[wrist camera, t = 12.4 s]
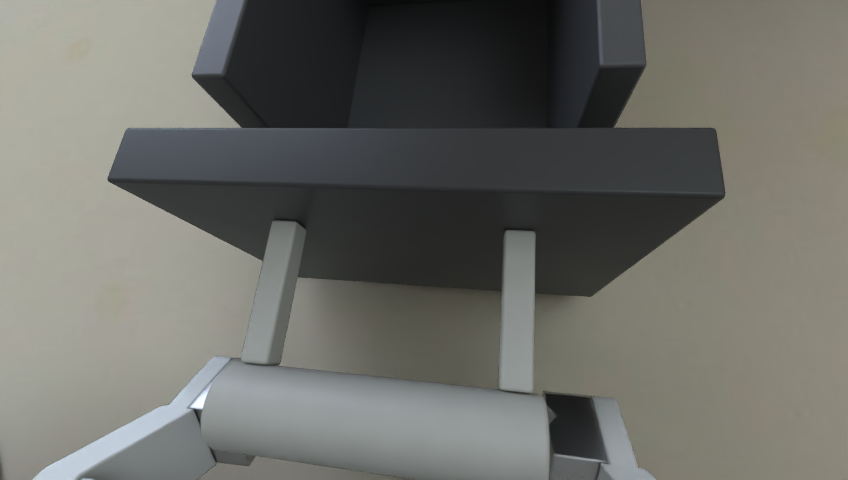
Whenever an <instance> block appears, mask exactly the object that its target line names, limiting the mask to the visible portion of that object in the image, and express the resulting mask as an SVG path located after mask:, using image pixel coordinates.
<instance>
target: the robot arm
mask: <svg viewBox="0 0 848 480" xmlns="http://www.w3.org/2000/svg"><path fill="white" fill-rule="evenodd" d="M237 362H242V361H241V358H232V357H225V356H216V357H214V358H211V359H210V360H209V361H208V362H207V363H206V365H205V366H204V367H203V368H202V369H201V370H200V371H199V372H198V373H197V374H196V376H195V377H194V378H193V379H192V380H191V381H190V382H189V383H188V384H187V386H186V387H185V388H184V389H183V390H182V391H181V392H180V393H179V394H178V395H177V397H176V398H175V399H174V400H173V401H172V402H171V403H170V404H169V405H168V406H166V405H162V406H160V407H158V408H156V409H154V410H152V411H151V412H149V413H147V414H145V415H143V416H141V417H139V418H137V419H136V420H134V421H132V422H130V423H128V424H126V425H124V426H122V427H121V428H119V429H117V430H115V431H113V432H111V433H109V434H107V435H106V436H104V437H102V438H100V439H98V440H96V441H94V442H92V443H91V444H89V445H87V446H85V447H83V448H81V449H79V450H77V451H76V452H74V453H72V454H70V455H68V456H66V457H64V458H62V459H61V460H59V461H57V462H55V463H53V464H51V465H49V466H47V467H46V468H44V469H43V470H42V471H40V472H39V473H38V474H37V475H36V476H35V477H34V478H33V479H32V480H198V479H199V478H200V477H201V476H203V475H204V474H205V473H206V472H208V471H209V470H210V469H211V468H213V467H214V466H215V465H216V462H218V463H227V464H235V465H243V466H250V464H251V462H252V461H253V459H254V457H255V456H254V455H247V454H241V453H234V452H227V451H221V450H215V449H212V448H211V447H209V446H208V445H207V444H206V443H205V441H204V439H203V437H202V433H201V414H202V409H203V405H204V401H205V399H206V396H207V393H208V391H209V389H210V387H211V385H212V384H213V382H214V380H215V379H216V378H217V376H218V375H219V374H220V373H221V372H222V371H223V370H224V369H225V368H226V367H228V366H229V365H231V364H234V363H237ZM542 396H543V397H544V400H545V403H546V406H547V412H548V421H549V437H550V466H549V480H657V479H656V478H655V477H654V476H653V475H652V474H651V473H650V472H649V471H648V470H646V469H640V468H639V467H638V464H637V461H636V458H635V455H634V452H633V448H632V445H631V442H630V439H629V436H628V433H627V430H626V427H625V424H624V421H623V418H622V415H621V411H620V408H619V405H618V402H617V401H616V400H615V399H614V398H609V397H599V396H588V395H580V394H570V393H559V392H549V391H543V394H542Z"/></svg>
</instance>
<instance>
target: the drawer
mask: <svg viewBox="0 0 848 480" xmlns="http://www.w3.org/2000/svg"><path fill="white" fill-rule="evenodd" d="M645 67H646V54H645V43H644V32H643V21H642V10H641V0H216V3H215V6H214V9H213V12H212V15H211V18H210V21H209V24H208V27H207V30H206V33H205V36H204V39H203V42H202V45H201V48H200V51H199V54H198V57H197V60H196V63H195V66H194V69H193V72H192V78H193V79H194V80H195V81H196V82H197V83H198V84H199V85H200V86H201V87H202V88H203V89H204V90H205V91H206V92H207V93H208V94H209V95H210V96H211V97H212V98H213V99H214V100H215V101H216V102H217V103H218V104H219V105H220V106H221V107H222V108H223V109H224V110H225V111H226V112H227V113H228V114H229V115H230V116H231V117H232V118H233V119H234V120H235V121H236V122H237V123H238V124H239V125H240V126H241V127H242V128H128V129H126V131H125V133H124V136H123V139H122V141H121V144H120V147H119V149H118V152H117V155H116V157H115V160H114V163H113V165H112V168H111V171H110V173H109V176H108V181H109V182H110V183H112V184H114V185H116V186H118V187H120V188H122V189H124V190H126V191H128V192H130V193H132V194H134V195H136V196H138V197H139V198H141V199H143V200H145V201H147V202H149V203H151V204H153V205H155V206H157V207H159V208H161V209H163V210H165V211H167V212H169V213H171V214H173V215H175V216H177V217H178V218H180V219H182V220H184V221H186V222H188V223H190V224H192V225H194V226H196V227H198V228H200V229H202V230H204V231H206V232H208V233H210V234H212V235H214V236H215V237H217V238H219V239H221V240H223V241H225V242H227V243H229V244H231V245H233V246H235V247H237V248H239V249H241V250H243V251H245V252H247V253H249V254H251V255H253V256H254V257H256V258H258V259H260V260H262V261H263V263H262V268H261V272H260V276H259V281H258V285H257V289H256V294H255V298H254V303H253V307H252V311H251V316H250V320H249V324H248V329H247V333H246V337H245V342H244V346H243V351H242V355H241V361H242V362H237V363H234V364H231V365H229V366H228V367H226V368H225V369H224V370H223V371H222V372H221V373H220V374H219V375H218V376H217V378H216V379H215V380H214V382H213V384H212V385H211V387H210V389H209V391H208V393H207V396H206V399H205V401H204V405H203V409H202V414H201V433H202V437H203V439H204V441H205V443H206V444H207V445H208V446H209V447H211V448H212V449H215V450H221V451H227V452H234V453H241V454H247V455H254V456H260V457H267V458H274V459H280V460H287V461H294V462H300V463H307V464H314V465H320V466H327V467H334V468H340V469H347V470H353V471H360V472H367V473H373V474H380V475H387V476H393V477H400V478H407V479H413V480H549V466H550V437H549V421H548V412H547V406H546V403H545V400H544V397H543V396H542V395H540V394H534V393H532V392H533V390H534V319H535V293H542V294H557V295H572V296H587V297H591V296H593V295H594V294H595V293H597V292H598V291H599V290H601V289H602V288H603V287H605V286H606V285H607V284H609V283H610V282H611V281H613V280H614V279H615V278H617V277H618V276H619V275H621V274H622V273H624V272H625V271H626V270H628V269H629V268H630V267H632V266H633V265H634V264H636V263H637V262H638V261H640V260H641V259H642V258H644V257H645V256H646V255H648V254H649V253H650V252H652V251H653V250H654V249H656V248H657V247H658V246H660V245H661V244H663V243H664V242H665V241H667V240H668V239H669V238H671V237H672V236H673V235H675V234H676V233H677V232H679V231H680V230H681V229H683V228H684V227H685V226H687V225H688V224H689V223H691V222H692V221H693V220H695V219H696V218H697V217H699V216H700V215H702V214H703V213H704V212H706V211H707V210H708V209H710V208H711V207H712V206H714V205H715V204H716V203H718V202H719V201H720V200H722V199H723V198H724V196H725V187H724V180H723V174H722V167H721V160H720V153H719V146H718V140H717V133H716V130H715V129H714V128H614V126H615V125H616V123H617V121H618V119H619V117H620V115H621V113H622V111H623V109H624V107H625V105H626V103H627V101H628V99H629V98H630V96H631V94H632V92H633V90H634V88H635V86H636V84H637V82H638V80H639V78H640V76H641V74H642V73H643V71H644V69H645ZM297 277H303V278H318V279H333V280H348V281H363V282H378V283H393V284H408V285H423V286H438V287H452V288H467V289H482V290H497V291H501V314H500V340H499V367H498V387H499V389H501V390H497V389H488V388H478V387H469V386H460V385H451V384H441V383H432V382H423V381H414V380H404V379H395V378H386V377H377V376H367V375H358V374H349V373H340V372H330V371H321V370H312V369H303V368H293V367H284V366H275V365H279V364H280V362H281V357H282V352H283V347H284V342H285V337H286V332H287V327H288V322H289V317H290V312H291V307H292V302H293V297H294V292H295V287H296V282H297Z"/></svg>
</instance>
